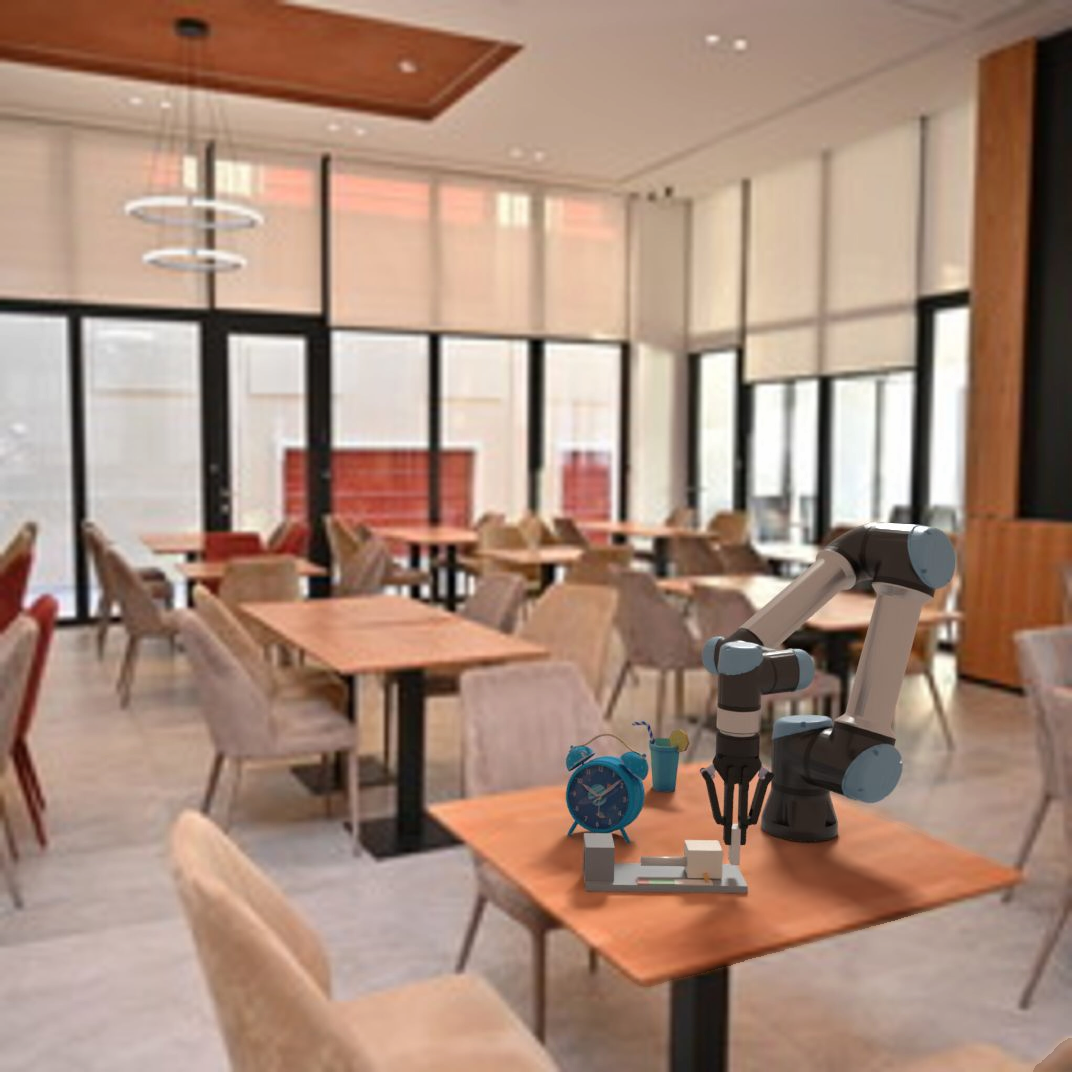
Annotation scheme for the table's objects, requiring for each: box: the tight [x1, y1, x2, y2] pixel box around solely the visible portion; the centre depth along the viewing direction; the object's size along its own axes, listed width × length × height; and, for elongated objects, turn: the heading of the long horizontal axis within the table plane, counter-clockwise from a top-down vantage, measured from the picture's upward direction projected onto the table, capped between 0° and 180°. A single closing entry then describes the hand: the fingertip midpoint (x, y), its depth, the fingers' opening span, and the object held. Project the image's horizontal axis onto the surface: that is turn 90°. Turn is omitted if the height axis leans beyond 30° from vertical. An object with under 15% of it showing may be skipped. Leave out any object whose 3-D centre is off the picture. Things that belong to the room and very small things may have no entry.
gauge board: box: [582, 832, 749, 894], centre depth 189 cm, size 28×10×7 cm, turn 90°
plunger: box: [639, 839, 724, 882], centre depth 188 cm, size 14×7×5 cm, turn 90°
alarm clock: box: [565, 732, 650, 845], centre depth 210 cm, size 17×10×20 cm, turn 70°
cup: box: [631, 720, 690, 793], centre depth 241 cm, size 14×8×15 cm, turn 65°
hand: (733, 862), depth 189 cm, fingers closed
